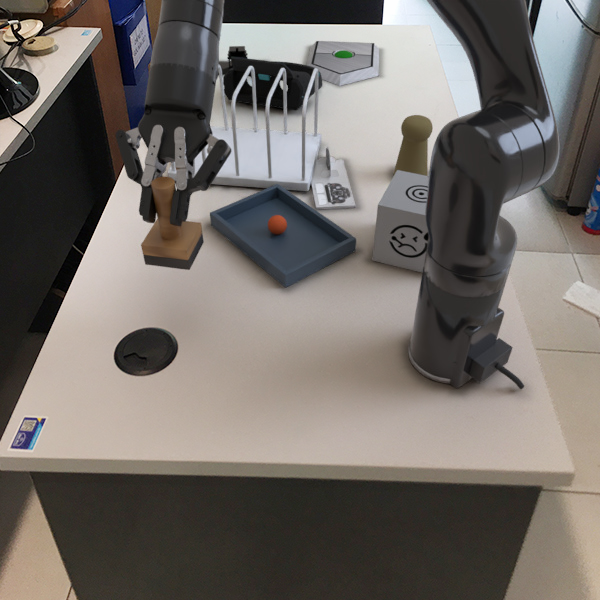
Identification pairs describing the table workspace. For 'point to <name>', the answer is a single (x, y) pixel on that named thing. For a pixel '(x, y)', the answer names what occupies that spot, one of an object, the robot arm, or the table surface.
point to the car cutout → (331, 184)
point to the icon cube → (402, 222)
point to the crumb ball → (277, 224)
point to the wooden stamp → (170, 232)
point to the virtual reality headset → (270, 82)
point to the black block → (234, 52)
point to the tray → (283, 234)
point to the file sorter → (265, 145)
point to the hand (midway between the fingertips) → (162, 222)
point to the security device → (344, 61)
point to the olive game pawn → (414, 145)
